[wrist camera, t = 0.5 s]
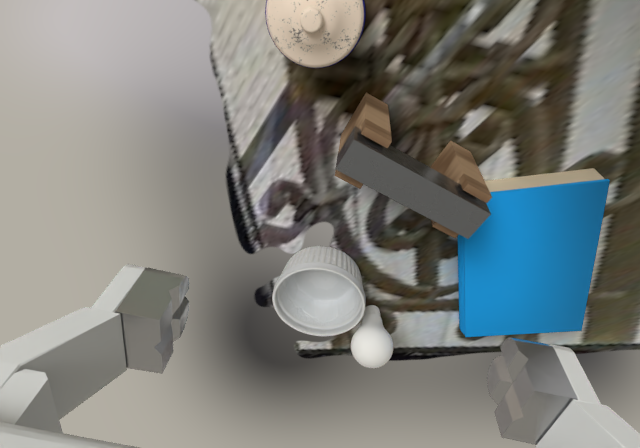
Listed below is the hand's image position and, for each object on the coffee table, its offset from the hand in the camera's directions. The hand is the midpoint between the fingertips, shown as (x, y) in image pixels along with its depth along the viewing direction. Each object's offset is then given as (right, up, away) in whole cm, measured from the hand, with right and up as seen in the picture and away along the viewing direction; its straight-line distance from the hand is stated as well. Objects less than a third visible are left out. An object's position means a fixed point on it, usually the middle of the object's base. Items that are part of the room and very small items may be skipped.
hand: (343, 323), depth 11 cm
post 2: (+15, +10, +44) cm, 47 cm away
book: (+28, -1, +50) cm, 58 cm away
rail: (+9, +8, +35) cm, 37 cm away
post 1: (+5, +15, +41) cm, 44 cm away
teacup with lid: (0, +27, +34) cm, 44 cm away
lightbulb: (+8, -11, +58) cm, 60 cm away
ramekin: (0, -5, +56) cm, 56 cm away
